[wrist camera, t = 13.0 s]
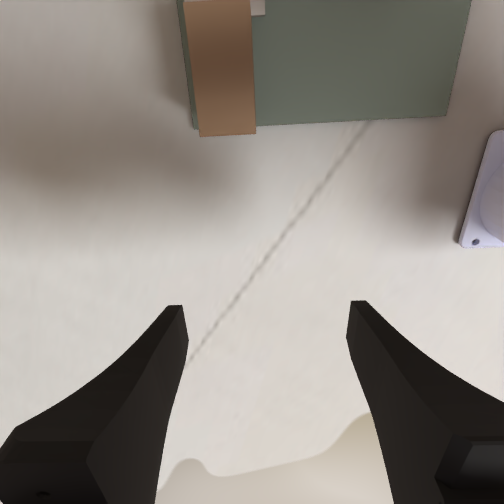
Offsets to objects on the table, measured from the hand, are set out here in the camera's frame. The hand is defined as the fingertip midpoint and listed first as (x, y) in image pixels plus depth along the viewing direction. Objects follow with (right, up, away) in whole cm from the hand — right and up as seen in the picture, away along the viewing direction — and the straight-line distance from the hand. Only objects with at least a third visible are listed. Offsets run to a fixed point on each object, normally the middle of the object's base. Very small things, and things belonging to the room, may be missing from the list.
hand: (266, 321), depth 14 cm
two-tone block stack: (-2, +15, +3) cm, 15 cm away
